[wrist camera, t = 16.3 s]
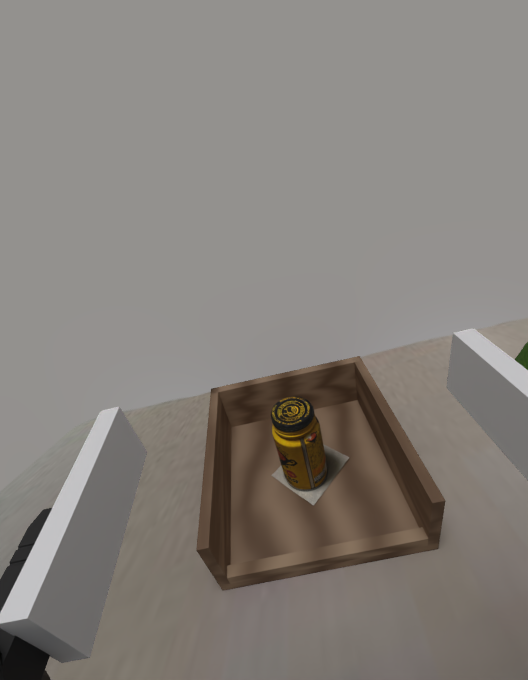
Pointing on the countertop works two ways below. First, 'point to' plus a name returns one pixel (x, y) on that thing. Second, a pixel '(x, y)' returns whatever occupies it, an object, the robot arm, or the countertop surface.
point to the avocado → (523, 357)
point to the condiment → (303, 449)
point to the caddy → (336, 501)
